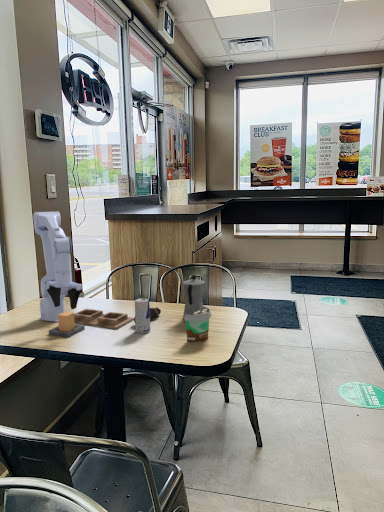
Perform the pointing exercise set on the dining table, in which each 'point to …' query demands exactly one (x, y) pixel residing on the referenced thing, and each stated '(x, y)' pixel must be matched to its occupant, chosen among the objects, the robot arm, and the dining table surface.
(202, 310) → the food container
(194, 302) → the coffeepot
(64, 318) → the orange peg
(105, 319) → the walnut rack
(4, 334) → the dining table surface
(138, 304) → the energy drink
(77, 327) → the metal socket
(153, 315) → the bolt
